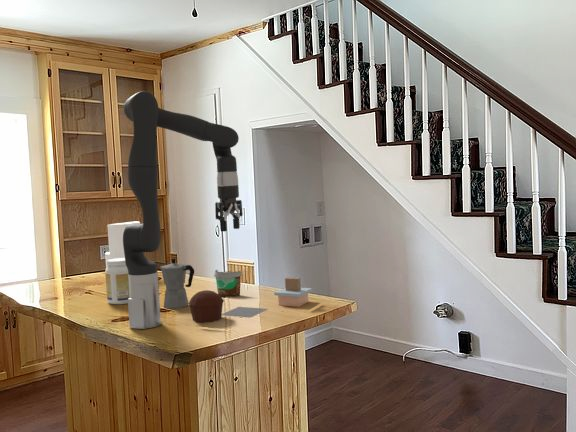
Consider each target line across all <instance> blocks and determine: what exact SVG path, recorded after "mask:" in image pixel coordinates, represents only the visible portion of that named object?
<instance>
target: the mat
mask: <svg viewBox="0 0 576 432" xmlns="http://www.w3.org/2000/svg"><path fill="white" fill-rule="evenodd" d="M267 310H268V308H263V307H262V308H260V307H245V306H237V307H235V308H232V309H231V310H228V311H226V312H222V315H221V316H228V317H229V316H230V317H239V318H240V317H242V318H253V317H254V316H257V315H258V314H260V313H263V312H264V311H267Z"/></svg>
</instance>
